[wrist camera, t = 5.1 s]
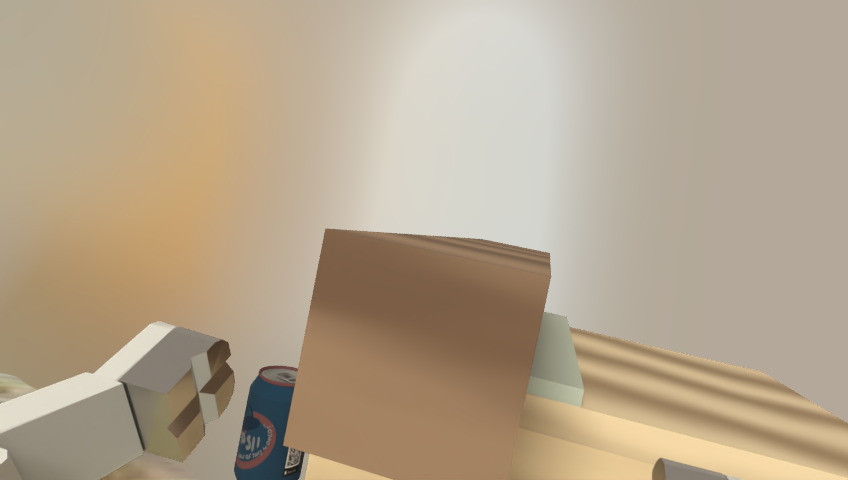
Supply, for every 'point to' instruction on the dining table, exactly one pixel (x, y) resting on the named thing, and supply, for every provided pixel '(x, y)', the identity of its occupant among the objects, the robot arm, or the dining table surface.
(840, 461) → the stand
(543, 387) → the felt pad
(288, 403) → the soda can
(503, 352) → the stool leg
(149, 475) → the dining table surface
